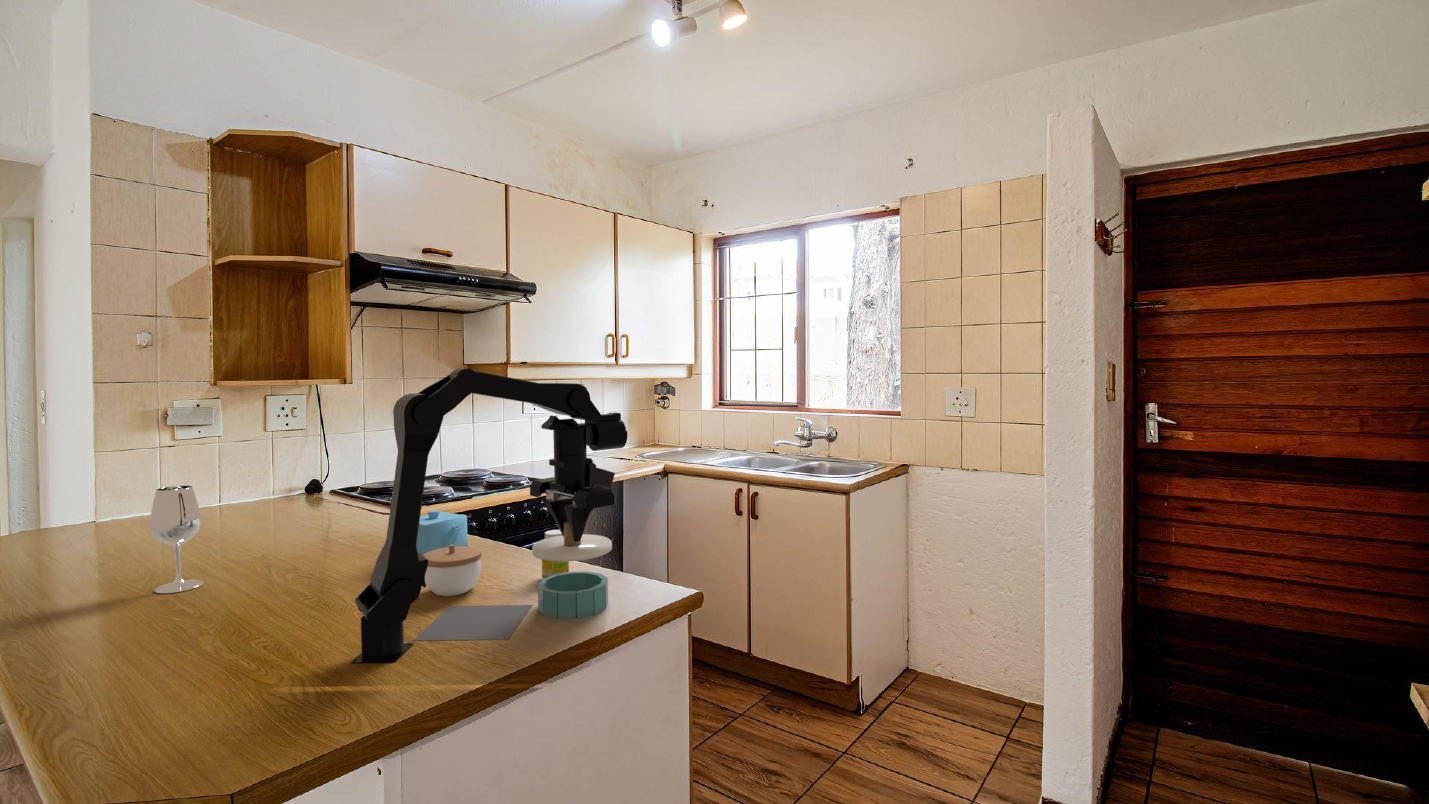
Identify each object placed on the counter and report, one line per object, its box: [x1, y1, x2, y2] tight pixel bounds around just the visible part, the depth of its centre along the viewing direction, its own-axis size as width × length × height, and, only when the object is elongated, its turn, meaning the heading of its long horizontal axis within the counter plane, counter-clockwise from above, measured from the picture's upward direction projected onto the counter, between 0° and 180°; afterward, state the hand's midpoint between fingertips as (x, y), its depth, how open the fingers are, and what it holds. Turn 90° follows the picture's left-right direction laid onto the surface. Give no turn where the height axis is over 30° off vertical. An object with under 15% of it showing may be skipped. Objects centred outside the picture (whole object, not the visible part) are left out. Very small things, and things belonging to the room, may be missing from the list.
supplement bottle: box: [541, 529, 570, 580], centre depth 135 cm, size 5×5×10 cm
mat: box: [412, 604, 533, 642], centre depth 111 cm, size 15×15×1 cm
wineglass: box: [149, 485, 204, 595], centre depth 130 cm, size 8×8×20 cm
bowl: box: [537, 571, 609, 620], centre depth 118 cm, size 12×12×5 cm
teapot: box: [417, 509, 469, 555], centre depth 149 cm, size 16×18×11 cm
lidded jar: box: [423, 545, 482, 597], centre depth 127 cm, size 11×11×9 cm
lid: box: [531, 521, 613, 562], centre depth 118 cm, size 14×14×5 cm
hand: (572, 539), depth 118 cm, fingers closed on lid, 3 cm apart
